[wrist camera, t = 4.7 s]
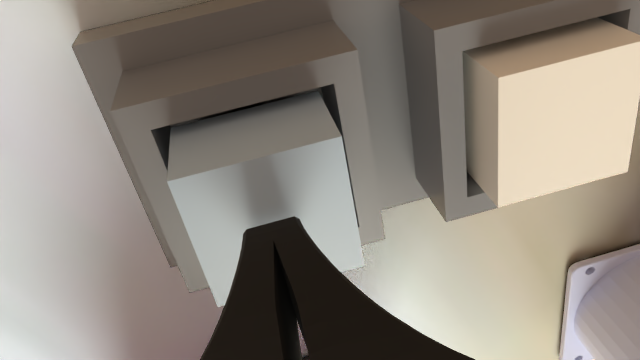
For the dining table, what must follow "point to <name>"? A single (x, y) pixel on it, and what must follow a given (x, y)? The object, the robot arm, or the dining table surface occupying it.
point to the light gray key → (263, 183)
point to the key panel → (314, 89)
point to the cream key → (551, 109)
